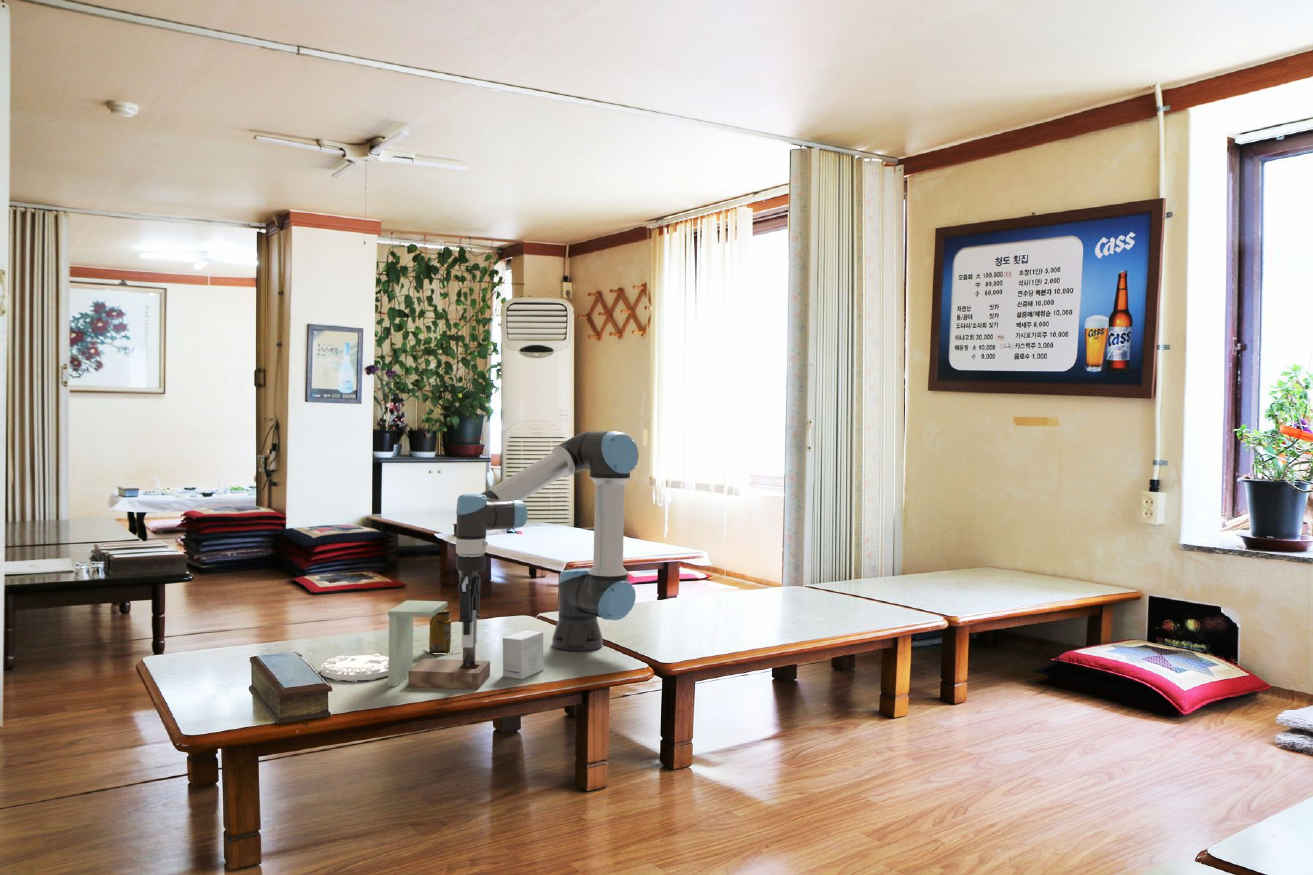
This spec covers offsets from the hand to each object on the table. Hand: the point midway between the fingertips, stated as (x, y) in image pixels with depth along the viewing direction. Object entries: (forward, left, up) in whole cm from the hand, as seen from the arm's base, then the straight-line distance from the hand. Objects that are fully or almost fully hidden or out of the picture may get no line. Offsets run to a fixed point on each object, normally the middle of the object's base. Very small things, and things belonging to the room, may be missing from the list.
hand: (469, 644), depth 242 cm
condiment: (+16, -29, -10) cm, 35 cm away
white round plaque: (+31, -6, -10) cm, 33 cm away
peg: (0, 0, -5) cm, 5 cm away
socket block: (+5, 0, -10) cm, 11 cm away
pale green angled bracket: (+13, 0, -10) cm, 17 cm away
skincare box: (-12, -10, -10) cm, 19 cm away
